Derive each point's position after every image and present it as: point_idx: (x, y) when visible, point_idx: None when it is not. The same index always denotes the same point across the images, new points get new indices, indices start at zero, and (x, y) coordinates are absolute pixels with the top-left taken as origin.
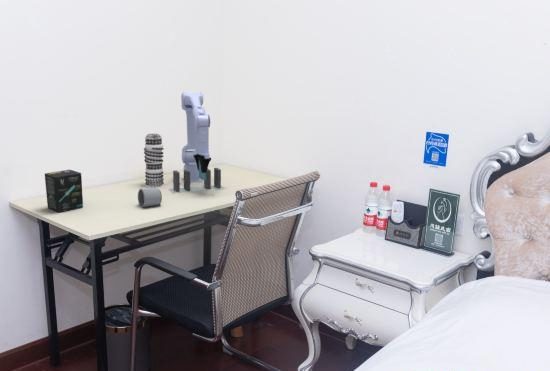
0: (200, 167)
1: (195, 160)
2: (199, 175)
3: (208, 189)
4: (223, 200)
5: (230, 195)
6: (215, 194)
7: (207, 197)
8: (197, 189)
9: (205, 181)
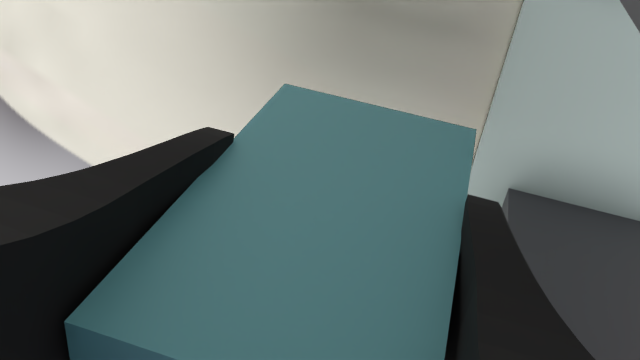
0: (323, 222)
1: (584, 351)
2: (429, 142)
3: (497, 193)
4: (69, 87)
5: None
6: None
7: (220, 9)
8: (588, 86)
9: (599, 259)
